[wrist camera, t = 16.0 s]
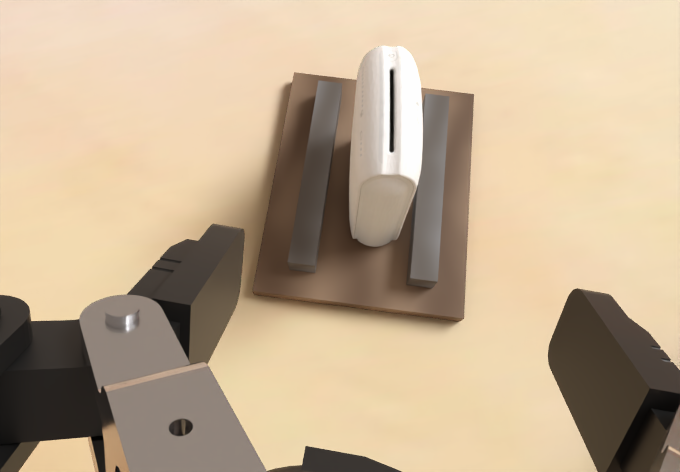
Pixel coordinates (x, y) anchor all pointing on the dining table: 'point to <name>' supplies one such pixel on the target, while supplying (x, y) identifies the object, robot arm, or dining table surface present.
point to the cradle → (333, 210)
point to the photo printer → (384, 145)
